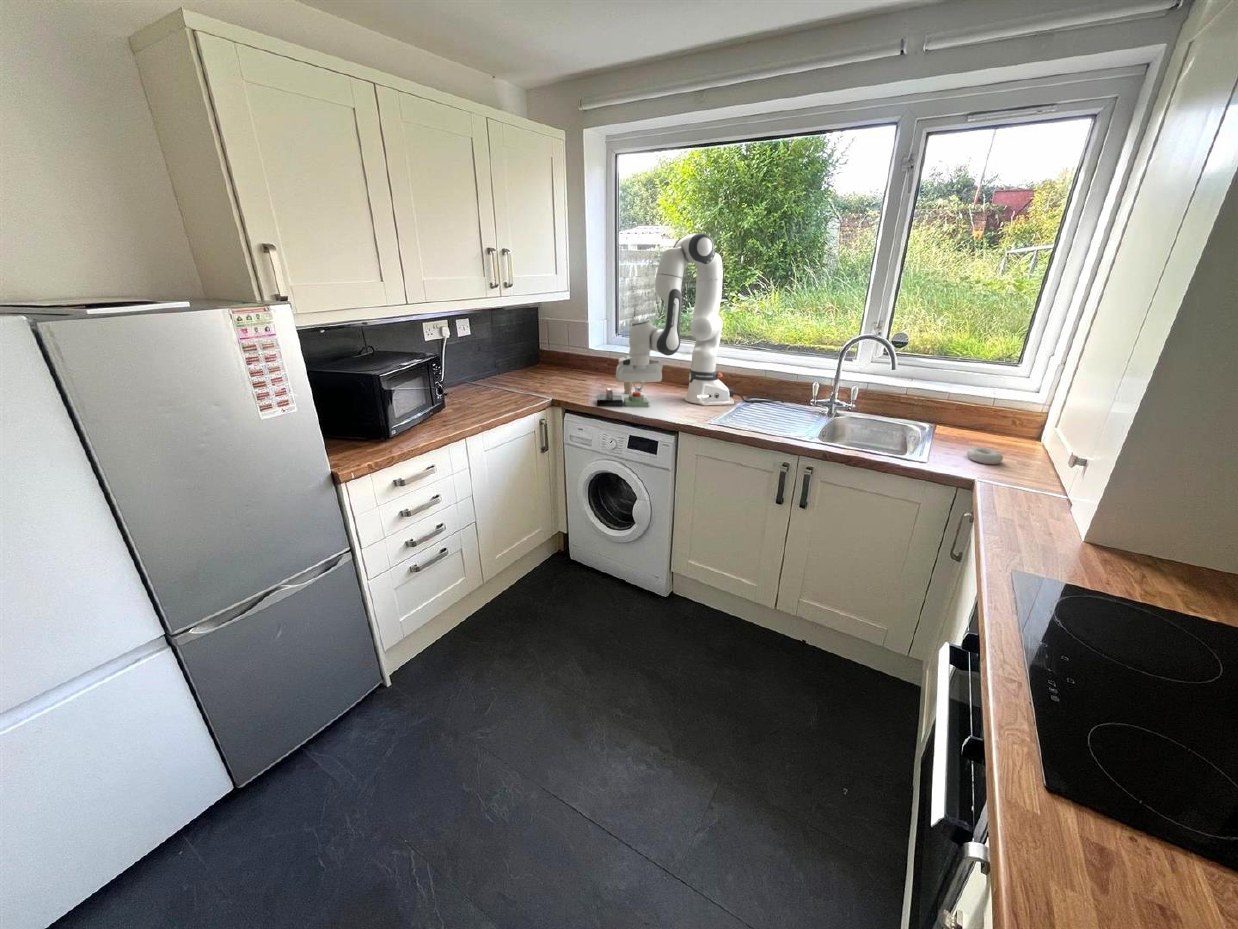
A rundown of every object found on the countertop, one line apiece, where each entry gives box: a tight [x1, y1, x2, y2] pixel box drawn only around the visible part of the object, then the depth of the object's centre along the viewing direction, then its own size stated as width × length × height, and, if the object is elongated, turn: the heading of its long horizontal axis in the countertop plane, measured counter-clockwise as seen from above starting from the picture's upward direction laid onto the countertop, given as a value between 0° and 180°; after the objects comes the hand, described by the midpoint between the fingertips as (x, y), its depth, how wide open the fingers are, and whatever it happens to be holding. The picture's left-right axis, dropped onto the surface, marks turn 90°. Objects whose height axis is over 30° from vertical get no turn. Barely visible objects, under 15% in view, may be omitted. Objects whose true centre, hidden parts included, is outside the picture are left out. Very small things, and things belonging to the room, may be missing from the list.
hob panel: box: [596, 394, 623, 408], centre depth 220 cm, size 11×10×3 cm
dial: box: [605, 387, 614, 399], centre depth 219 cm, size 6×2×4 cm, turn 13°
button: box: [631, 391, 642, 397], centre depth 220 cm, size 4×4×2 cm
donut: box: [966, 447, 1004, 465], centre depth 167 cm, size 10×4×10 cm
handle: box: [623, 382, 633, 395], centre depth 238 cm, size 5×6×15 cm
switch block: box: [623, 393, 649, 408], centre depth 221 cm, size 10×8×4 cm
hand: (638, 391), depth 219 cm, fingers closed
